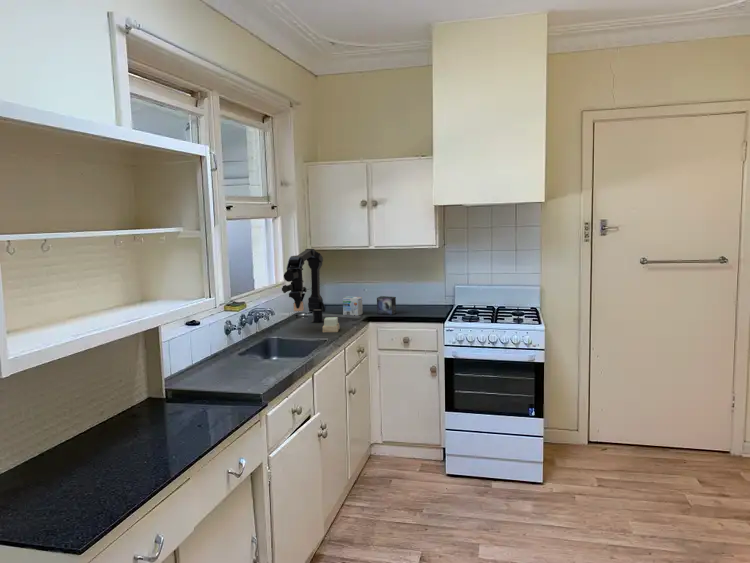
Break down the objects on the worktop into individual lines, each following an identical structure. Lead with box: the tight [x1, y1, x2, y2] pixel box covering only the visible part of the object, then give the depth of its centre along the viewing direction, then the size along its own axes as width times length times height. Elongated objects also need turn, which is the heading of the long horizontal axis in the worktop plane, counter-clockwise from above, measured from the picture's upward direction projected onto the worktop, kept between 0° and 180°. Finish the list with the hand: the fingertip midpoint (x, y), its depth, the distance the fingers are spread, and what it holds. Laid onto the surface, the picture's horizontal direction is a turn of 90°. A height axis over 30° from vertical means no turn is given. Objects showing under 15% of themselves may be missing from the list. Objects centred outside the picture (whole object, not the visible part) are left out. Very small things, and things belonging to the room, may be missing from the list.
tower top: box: [323, 316, 339, 326], centre depth 306 cm, size 6×6×4 cm
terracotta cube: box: [293, 301, 305, 312], centre depth 306 cm, size 4×4×4 cm
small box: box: [376, 295, 397, 316], centre depth 349 cm, size 11×6×10 cm, turn 62°
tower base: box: [322, 322, 340, 333], centre depth 306 cm, size 8×8×4 cm
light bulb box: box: [342, 296, 364, 316], centre depth 350 cm, size 11×7×11 cm, turn 68°
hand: (298, 307), depth 307 cm, fingers closed on terracotta cube, 4 cm apart
